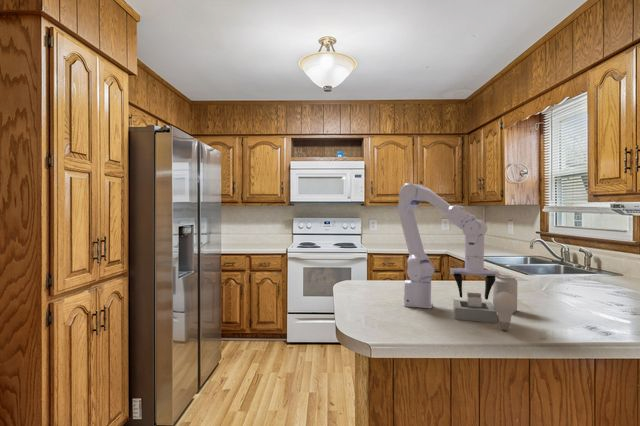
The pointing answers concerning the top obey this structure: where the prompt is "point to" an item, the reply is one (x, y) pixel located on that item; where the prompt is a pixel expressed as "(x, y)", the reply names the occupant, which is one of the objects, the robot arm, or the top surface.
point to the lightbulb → (504, 308)
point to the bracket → (474, 300)
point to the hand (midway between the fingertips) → (473, 297)
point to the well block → (474, 312)
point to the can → (505, 286)
